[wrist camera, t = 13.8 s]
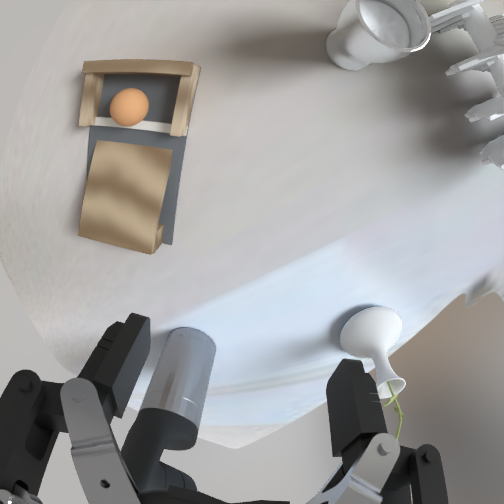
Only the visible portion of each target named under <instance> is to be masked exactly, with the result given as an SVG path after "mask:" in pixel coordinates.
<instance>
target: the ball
mask: <svg viewBox="0 0 504 504" xmlns="http://www.w3.org/2000/svg"><path fill="white" fill-rule="evenodd" d="M148 109H149V101H148V98H147V96H146V95H145V94H144V93H143V92H142V91H141V90H139V89H135V88H127V89H124V90H122V91H120V92H119V93H117V94H116V95H115V97H114V98H113V99H112V101H111V104H110V114H111V117H112V119H113V120H114V121H115V122H116V123H117V124H119V125H121V126H133V125H136V124H138V123H139V122H141V121H142V120H143V119H144V118H145V116H146V115H147V112H148Z"/></svg>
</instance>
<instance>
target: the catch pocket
mask: <svg viewBox="0 0 504 504" xmlns="http://www.w3.org/2000/svg"><path fill="white" fill-rule="evenodd" d="M200 68H201V67H200V66H198V65H196V64H194V63H192V62H184V61H170V60H143V59H124V60H98V61H84V64H83V69H82V73H86V76H85V82H84V88H83V95H82V102H81V109H80V118H79V126H90V125H95V119H96V117H98V113H99V105H100V99H101V92H102V86H103V81H104V75H105V74H143V75H162V76H175V77H181V80H180V84H179V89H178V94H177V99H176V104H175V109H174V115H173V120H172V126H171V132H170V135H171V136H178V137H180V136H183V135H185V134H186V128H187V126H188V125H189V119H190V114H191V109H192V104H193V99H194V95H195V90H196V85H197V81H198V76H199V72H200Z"/></svg>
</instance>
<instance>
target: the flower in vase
mask: <svg viewBox="0 0 504 504" xmlns="http://www.w3.org/2000/svg"><path fill="white" fill-rule="evenodd" d="M401 332H402V319H401V316H400V315H399V313H398V312H396V311H395V310H393V309H391V308H388V307H382V306H377V307H371V308H367V309H364V310H362V311H360V312H358V313H357V314H355V315H354V316H352V317H351V318H350V319H349V320H348V321H347V323H346V324H345V325H344V327H343V329H342V331H341V334H340V344H341V346H342V347H343V349H344V350H345V351H346V352H347V353H348V354H350V355H352V356H355V357H359V358H372V359H373V361H374V364H375V367H376V372H377V384H376V387H377V391H378V395H379V399H382V398H389V397H392V396H393V397H392V398H391V399H390V400H389V401H388V402H387V403H386V404H384V406H387V405H388V404H390V403H391V402H392V401H393V400H395V403H396V405H397V408H396V407H394V409H395V411H396V412H397V413H398V414H399V425H398V431H397V434H396V440H397V439H398V436H399V432H400V427H401V421H402V418H404V415H403V413H402V412H401V410H400V407H399V404H398V402H397V399H396V397H397V395H398V393H399V392H400V391H402V390H403V388H404V387H405V385H406V382H405V380H404V379H402V378H400V377H398V376H397V375H396V374H395V373H394V371H393V370H392V368H391V366H390V363H389V361H388V358H387V351H388V350H389V349H390V348H391V347H392V346H393V345H394V344H395V343H396V341H397V340H398V338H399V337H400V335H401ZM397 441H398V440H397Z"/></svg>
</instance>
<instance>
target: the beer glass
mask: <svg viewBox="0 0 504 504" xmlns="http://www.w3.org/2000/svg"><path fill="white" fill-rule="evenodd" d="M430 36H431V24H430V20H429V17H428V15H427V12H426V11H425V9H424V7H423V6H422V5H421V3H420V2H419V1H418V0H350V1H349V2H348V3H347V4H346V5H345V7H344V9H343V10H342V12H341V14H340V16H339V20H338V24H337V29H335V30H334V31H332V32H331V33H330V34H329V35H328V37H327V40H326V51H327V53H328V55H329V57H330V59H331V60H332V61H333V62H334V63H335V64H336V65H338V66H339V67H341V68H344V69H346V70H352V71H356V70H361V69H363V68H365V67H367V66H368V65H369V64H370V63H387V62H392V61H395V60H399V59H401V58H403V57H406V56H408V55H410V54H412V53H413V52H415V51H418V50H420V49H422V48H423V47H424V46H425V45H426V44H427V43H428V41H429V39H430Z"/></svg>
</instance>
